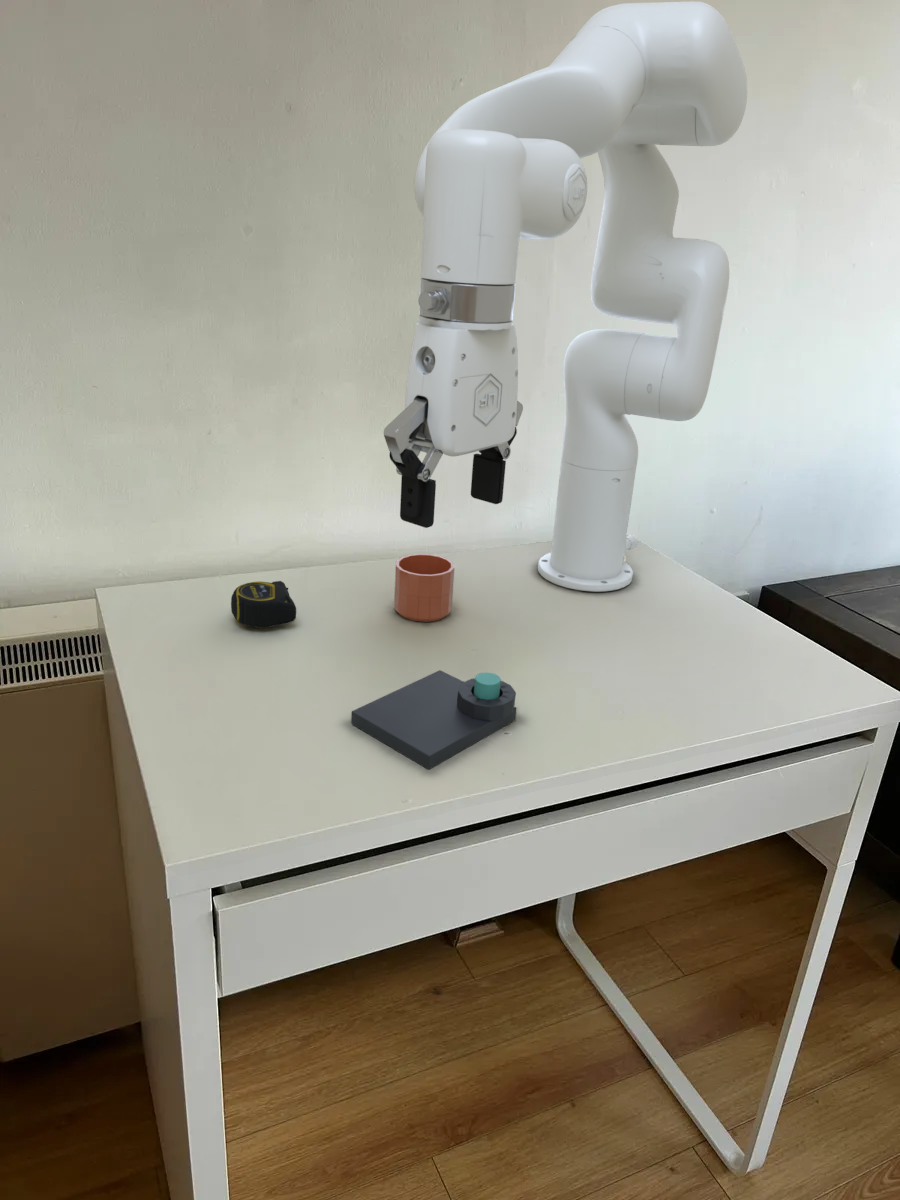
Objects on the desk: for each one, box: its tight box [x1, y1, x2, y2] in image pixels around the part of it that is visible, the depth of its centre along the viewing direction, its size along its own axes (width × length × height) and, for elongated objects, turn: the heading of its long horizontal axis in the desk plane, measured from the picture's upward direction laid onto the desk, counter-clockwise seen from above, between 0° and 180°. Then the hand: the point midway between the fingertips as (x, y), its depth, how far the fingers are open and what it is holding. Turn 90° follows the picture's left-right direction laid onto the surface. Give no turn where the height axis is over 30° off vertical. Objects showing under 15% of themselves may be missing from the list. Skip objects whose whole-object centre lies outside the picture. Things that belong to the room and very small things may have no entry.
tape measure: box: [230, 580, 297, 629], centre depth 102 cm, size 7×7×4 cm
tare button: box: [474, 671, 502, 700], centre depth 84 cm, size 2×2×2 cm
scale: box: [350, 669, 517, 770], centre depth 84 cm, size 13×10×3 cm
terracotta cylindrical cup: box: [393, 553, 455, 623], centre depth 106 cm, size 7×7×6 cm
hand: (452, 511), depth 78 cm, fingers open, 9 cm apart
